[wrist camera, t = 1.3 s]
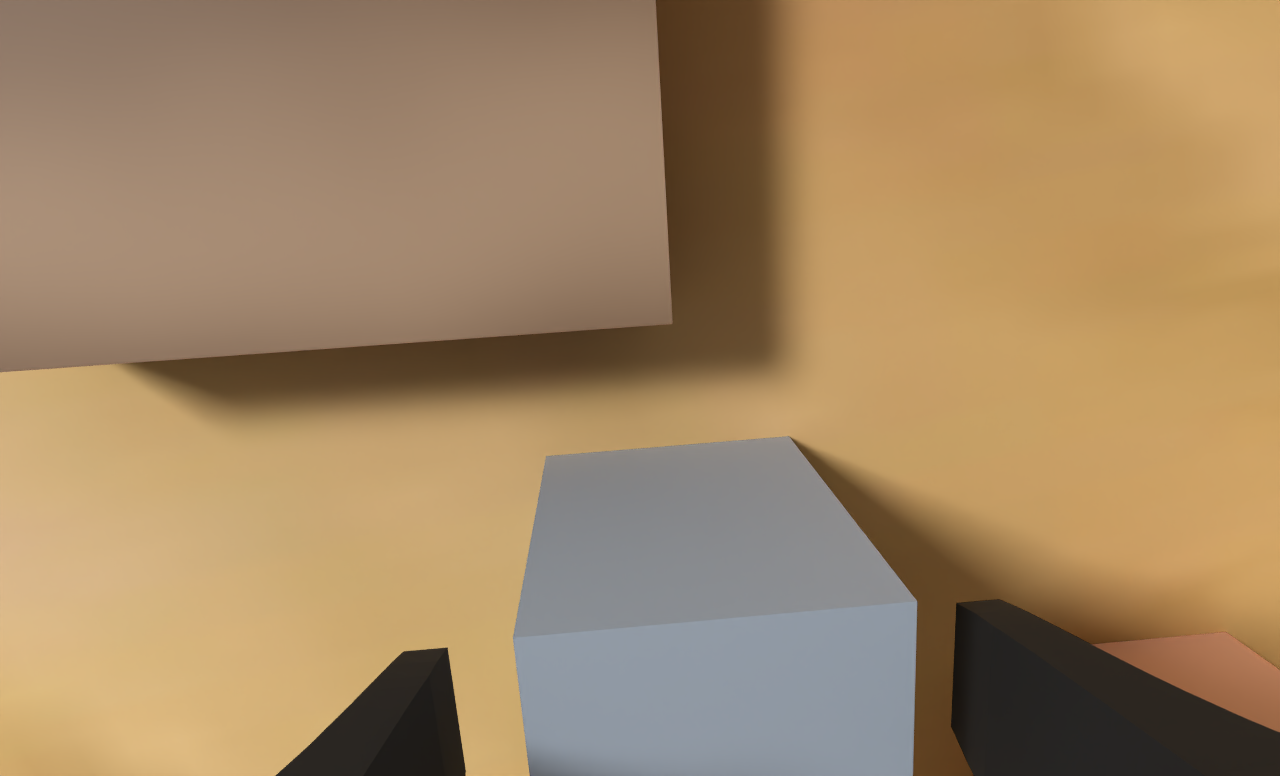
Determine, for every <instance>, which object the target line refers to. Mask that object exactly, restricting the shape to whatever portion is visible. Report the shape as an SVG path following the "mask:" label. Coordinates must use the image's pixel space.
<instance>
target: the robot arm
mask: <svg viewBox="0 0 1280 776" xmlns="http://www.w3.org/2000/svg"><path fill="white" fill-rule="evenodd" d="M951 727H952V729H953V732H954V734H955V736H956V738H957V740H958V743H959V745H960V747H961V749H962V751H963V754H964V756H965V758H966V760H967V762H968V764H969V766H970V769H971V771H972V773H973V775H974V776H1280V732H1278V731H1275V730H1273V729H1270V728H1268V727H1265V726H1263V725H1261V724H1258V723H1256V722H1253V721H1251V720H1249V719H1246V718H1244V717H1242V716H1239V715H1237V714H1235V713H1233V712H1230V711H1228V710H1226V709H1224V708H1222V707H1219V706H1217V705H1215V704H1213V703H1211V702H1208V701H1206V700H1204V699H1202V698H1200V697H1197V696H1195V695H1193V694H1191V693H1189V692H1186V691H1184V690H1182V689H1180V688H1178V687H1176V686H1174V685H1172V684H1170V683H1168V682H1165V681H1163V680H1161V679H1159V678H1157V677H1155V676H1153V675H1151V674H1149V673H1147V672H1145V671H1143V670H1141V669H1139V668H1137V667H1135V666H1133V665H1131V664H1129V663H1127V662H1125V661H1123V660H1121V659H1119V658H1117V657H1115V656H1113V655H1111V654H1109V653H1107V652H1105V651H1103V650H1101V649H1099V648H1097V647H1095V646H1093V645H1092V644H1090V643H1088V642H1086V641H1084V640H1082V639H1080V638H1078V637H1076V636H1074V635H1072V634H1070V633H1068V632H1066V631H1064V630H1062V629H1061V628H1059V627H1057V626H1055V625H1053V624H1051V623H1049V622H1047V621H1045V620H1043V619H1041V618H1039V617H1037V616H1035V615H1033V614H1031V613H1029V612H1027V611H1024V610H1022V609H1020V608H1018V607H1016V606H1014V605H1011V604H1009V603H1007V602H1004V601H1002V600H999V599H997V600H985V601H974V602H963V603H956V626H955V649H954V672H953V695H952V718H951ZM465 773H466V770H465V763H464V757H463V750H462V743H461V736H460V730H459V723H458V716H457V709H456V703H455V696H454V689H453V682H452V676H451V669H450V662H449V655H448V648H438V649H427V650H416V651H404V652H403V653H401V654H400V655H399V656H398V657H397V658H396V659H395V660H394V661H393V662H392V663H391V664H390V665H389V666H388V667H387V668H386V669H385V670H384V671H383V672H382V673H381V674H380V675H379V676H378V677H377V678H376V679H375V680H374V681H373V682H372V683H371V684H370V685H369V686H368V687H367V688H366V689H365V690H364V691H363V692H362V693H361V695H360V696H359V697H358V698H357V699H356V700H355V701H354V702H353V703H352V704H351V705H350V706H349V707H348V708H347V709H346V710H345V711H344V712H343V713H342V714H341V715H340V716H338V717H337V718H336V719H335V720H334V721H333V722H332V723H331V724H330V725H329V726H328V727H327V728H326V729H325V730H324V731H323V732H322V733H321V734H320V735H319V736H318V737H317V738H316V739H315V740H314V741H313V742H312V743H311V744H310V745H309V746H308V747H307V748H306V749H305V750H303V751H302V752H301V753H300V754H299V755H298V756H297V757H296V758H295V759H294V760H292V761H291V762H290V763H289V764H288V765H287V766H286V767H285V768H284V769H282V770H281V771H280V772H279V773H278V774H277V775H276V776H465Z"/></svg>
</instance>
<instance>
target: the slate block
mask: <svg viewBox="0 0 1280 776" xmlns="http://www.w3.org/2000/svg"><path fill="white" fill-rule="evenodd" d="M916 629H917V600H916V599H915V598H914V597H913V595H912V594H911V593H910V591H909V590H908V589H907V588H906V586H905V585H904V584H903V582H902V581H901V580H900V579H899V577H898V576H897V575H896V573H895V572H894V571H893V570H892V568H891V567H890V566H889V564H888V563H887V562H886V561H885V559H884V558H883V557H882V555H881V554H880V553H879V552H878V550H877V549H876V548H875V546H874V545H873V544H872V543H871V541H870V540H869V539H868V537H867V536H866V535H865V534H864V532H863V531H862V530H861V528H860V527H859V526H858V525H857V523H856V522H855V521H854V519H853V518H852V517H851V516H850V514H849V513H848V512H847V510H846V509H845V508H844V507H843V505H842V504H841V503H840V501H839V500H838V499H837V498H836V496H835V495H834V494H833V492H832V491H831V490H830V489H829V487H828V486H827V485H826V483H825V482H824V481H823V480H822V478H821V477H820V476H819V474H818V473H817V472H816V471H815V469H814V468H813V467H812V465H811V464H810V463H809V462H808V460H807V459H806V458H805V456H804V455H803V454H802V453H801V451H800V450H799V449H798V447H797V446H796V445H795V444H794V442H793V441H792V440H791V438H790V437H789V436H787V437H775V438H763V439H751V440H739V441H726V442H714V443H702V444H690V445H677V446H665V447H653V448H641V449H629V450H616V451H604V452H592V453H580V454H568V455H555V456H546V460H545V465H544V471H543V476H542V482H541V487H540V493H539V498H538V504H537V509H536V515H535V520H534V526H533V531H532V537H531V542H530V548H529V553H528V559H527V564H526V569H525V575H524V580H523V586H522V591H521V597H520V602H519V608H518V613H517V619H516V624H515V630H514V635H513V642H514V650H515V658H516V666H517V674H518V683H519V691H520V699H521V707H522V715H523V724H524V732H525V740H526V748H527V756H528V765H529V773H530V776H913V750H914V710H915V670H916Z"/></svg>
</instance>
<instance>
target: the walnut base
mask: <svg viewBox="0 0 1280 776" xmlns="http://www.w3.org/2000/svg"><path fill="white" fill-rule="evenodd" d="M665 324H673V322H672V303H671V284H670V265H669V246H668V227H667V208H666V189H665V169H664V150H663V131H662V112H661V93H660V74H659V55H658V36H657V17H656V0H0V372H10V371H24V370H38V369H52V368H65V367H79V366H93V365H107V364H121V363H135V362H149V361H163V360H177V359H191V358H205V357H219V356H233V355H247V354H261V353H275V352H289V351H302V350H316V349H330V348H344V347H358V346H372V345H386V344H400V343H414V342H428V341H442V340H456V339H470V338H484V337H498V336H512V335H526V334H539V333H553V332H567V331H581V330H595V329H609V328H623V327H637V326H651V325H665Z"/></svg>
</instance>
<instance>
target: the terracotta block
mask: <svg viewBox="0 0 1280 776" xmlns="http://www.w3.org/2000/svg"><path fill="white" fill-rule="evenodd" d="M1092 645H1093V646H1095V647H1097V648H1099V649H1101V650H1103V651H1105V652H1107V653H1109V654H1111V655H1113V656H1115V657H1117V658H1119V659H1121V660H1123V661H1125V662H1127V663H1129V664H1131V665H1133V666H1135V667H1137V668H1139V669H1141V670H1143V671H1145V672H1147V673H1149V674H1151V675H1153V676H1155V677H1157V678H1159V679H1161V680H1163V681H1165V682H1168V683H1170V684H1172V685H1174V686H1176V687H1178V688H1180V689H1182V690H1184V691H1186V692H1189V693H1191V694H1193V695H1195V696H1197V697H1200V698H1202V699H1204V700H1206V701H1208V702H1211V703H1213V704H1215V705H1217V706H1219V707H1222V708H1224V709H1226V710H1228V711H1230V712H1233V713H1235V714H1237V715H1239V716H1242V717H1244V718H1246V719H1249V720H1251V721H1253V722H1256V723H1258V724H1261V725H1263V726H1265V727H1268V728H1270V729H1273V730H1275V731H1278V732H1280V670H1279V669H1278V668H1276V667H1275V666H1274V665H1272V664H1271V663H1269V662H1268V661H1266V660H1265V659H1264V658H1262V657H1261V656H1259V655H1258V654H1257V653H1255V652H1254V651H1252V650H1251V649H1249V648H1248V647H1247V646H1245V645H1244V644H1242V643H1241V642H1240V641H1238V640H1237V639H1235V638H1234V637H1232V636H1231V635H1230V634H1228V633H1227V632H1219V633H1208V634H1197V635H1186V636H1176V637H1165V638H1154V639H1143V640H1132V641H1121V642H1111V643H1100V644H1092Z"/></svg>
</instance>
